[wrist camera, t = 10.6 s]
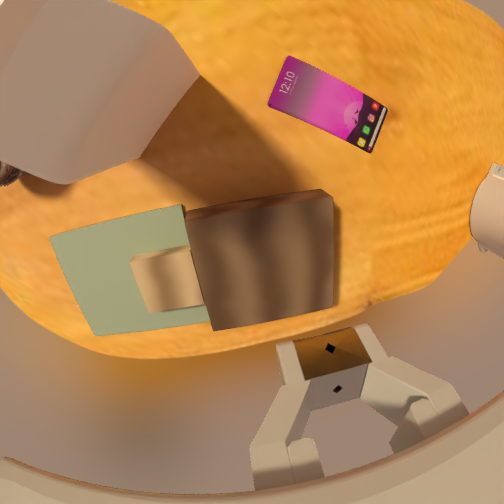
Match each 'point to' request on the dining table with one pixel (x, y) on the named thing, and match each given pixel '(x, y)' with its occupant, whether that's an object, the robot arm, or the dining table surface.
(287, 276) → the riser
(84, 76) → the milk
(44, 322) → the dining table surface
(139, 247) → the mat
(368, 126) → the smartphone
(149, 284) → the coaster
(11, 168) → the cupcake
